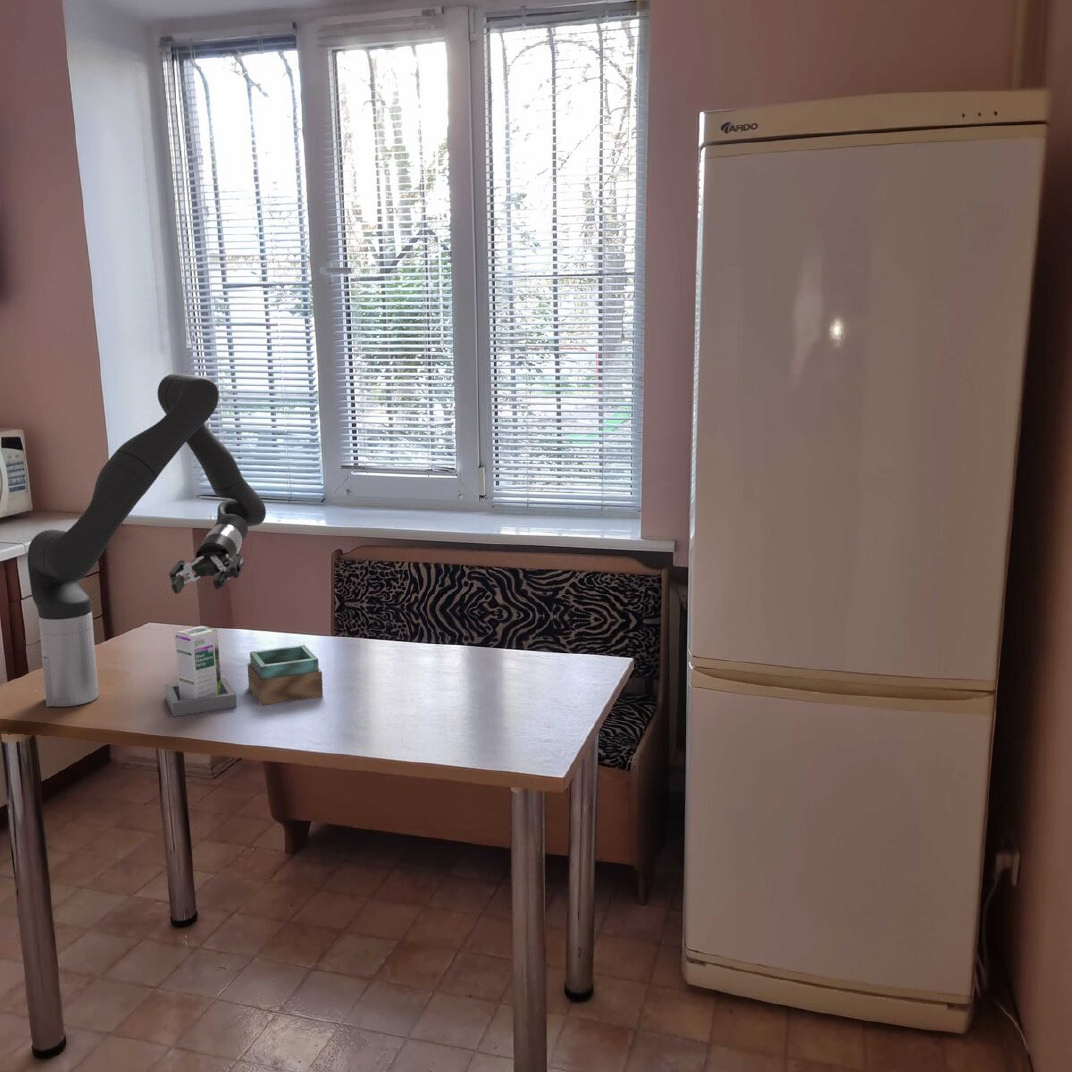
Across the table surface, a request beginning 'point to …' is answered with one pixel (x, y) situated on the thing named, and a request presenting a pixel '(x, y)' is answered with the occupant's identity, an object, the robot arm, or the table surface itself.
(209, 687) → the syrup box
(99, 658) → the table surface
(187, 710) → the low ring
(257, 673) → the raised dock
